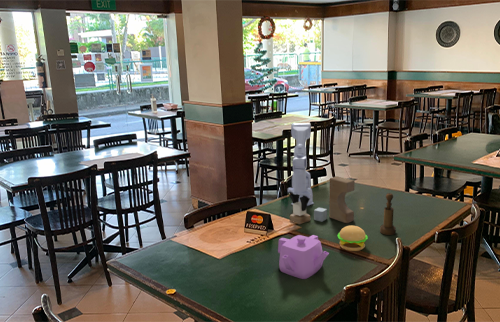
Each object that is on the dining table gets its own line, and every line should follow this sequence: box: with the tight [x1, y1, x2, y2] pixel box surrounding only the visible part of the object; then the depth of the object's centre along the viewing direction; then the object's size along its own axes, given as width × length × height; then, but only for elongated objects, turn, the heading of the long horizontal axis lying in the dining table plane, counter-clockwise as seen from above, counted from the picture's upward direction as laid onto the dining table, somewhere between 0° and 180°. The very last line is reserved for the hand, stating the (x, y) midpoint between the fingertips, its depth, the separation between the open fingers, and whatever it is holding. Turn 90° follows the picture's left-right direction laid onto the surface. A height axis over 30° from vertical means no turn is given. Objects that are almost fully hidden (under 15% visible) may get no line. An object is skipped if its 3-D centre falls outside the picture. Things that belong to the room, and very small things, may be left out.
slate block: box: [313, 207, 328, 222], centre depth 202 cm, size 4×4×5 cm
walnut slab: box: [289, 213, 311, 225], centre depth 202 cm, size 7×7×3 cm
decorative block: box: [328, 176, 356, 224], centre depth 199 cm, size 11×6×20 cm, turn 37°
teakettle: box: [277, 234, 330, 280], centre depth 154 cm, size 17×17×12 cm
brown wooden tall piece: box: [379, 192, 397, 236], centre depth 183 cm, size 7×6×18 cm
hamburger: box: [337, 225, 368, 252], centre depth 171 cm, size 12×12×9 cm
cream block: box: [292, 202, 307, 216], centre depth 200 cm, size 4×4×5 cm
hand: (299, 209), depth 201 cm, fingers closed on cream block, 4 cm apart
